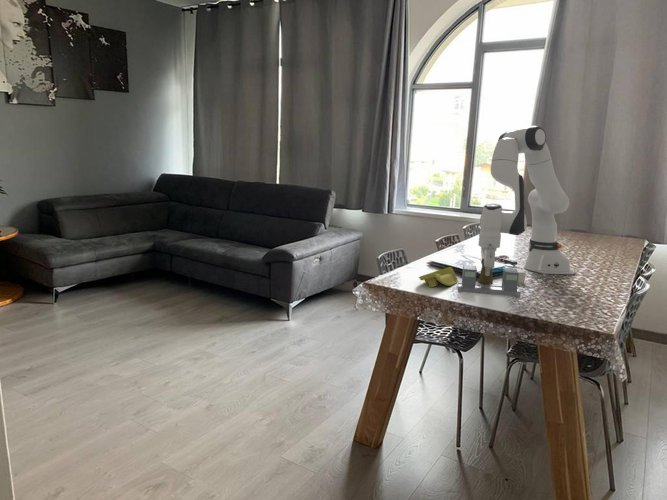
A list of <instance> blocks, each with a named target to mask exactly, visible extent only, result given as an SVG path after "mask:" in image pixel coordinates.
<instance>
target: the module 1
mask: <svg viewBox="0 0 667 500" xmlns="http://www.w3.org/2000/svg"><path fill="white" fill-rule="evenodd" d="M477 272H478V269H477V266H476V265H469V264H468V265H467V264H463V266H462V276H461V282H462V288H468V289H475V285H476V284H477Z"/></svg>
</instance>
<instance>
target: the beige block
mask: <svg viewBox="0 0 667 500" xmlns="http://www.w3.org/2000/svg"><path fill="white" fill-rule="evenodd" d="M516 269H517V268H516ZM517 271H518V272H519V276H518V284H525V280H526V272H525V271H524V270H523V269H517Z"/></svg>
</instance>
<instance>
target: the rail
mask: <svg viewBox="0 0 667 500" xmlns="http://www.w3.org/2000/svg"><path fill="white" fill-rule="evenodd" d="M457 290H458V291H457V292H461V293H462V292H465V293H475V294H476V293H477V294H488V295H498V296H500V295H501V296H509V297H511V296H512V297H521V291H520V289H519V286H517V293H516V292H504V290H503V289H502V285H497V284H491V285H487V284H480V283H476V285H475V289H468V288H462V281H460V282H459V281H458V282H457Z"/></svg>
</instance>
